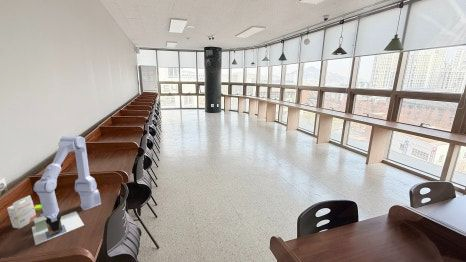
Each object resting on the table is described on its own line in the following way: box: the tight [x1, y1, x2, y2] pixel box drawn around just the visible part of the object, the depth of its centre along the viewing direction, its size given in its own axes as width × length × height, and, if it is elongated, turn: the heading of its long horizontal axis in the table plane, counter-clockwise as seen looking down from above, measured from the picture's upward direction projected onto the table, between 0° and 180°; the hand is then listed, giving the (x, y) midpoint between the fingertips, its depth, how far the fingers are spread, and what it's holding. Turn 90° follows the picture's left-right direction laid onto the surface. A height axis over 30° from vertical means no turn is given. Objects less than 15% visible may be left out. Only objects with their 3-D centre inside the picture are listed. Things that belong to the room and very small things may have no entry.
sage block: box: [33, 216, 47, 232], centre depth 111 cm, size 5×5×5 cm
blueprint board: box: [31, 211, 85, 246], centre depth 112 cm, size 19×18×1 cm
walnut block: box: [46, 221, 63, 235], centre depth 107 cm, size 5×5×5 cm
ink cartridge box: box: [6, 195, 38, 229], centre depth 114 cm, size 9×5×15 cm, turn 168°
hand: (55, 227), depth 108 cm, fingers closed on walnut block, 5 cm apart
